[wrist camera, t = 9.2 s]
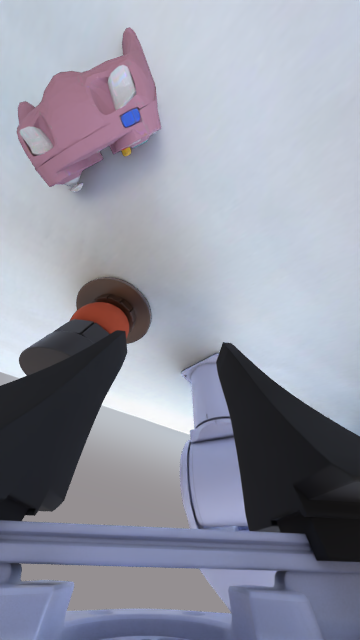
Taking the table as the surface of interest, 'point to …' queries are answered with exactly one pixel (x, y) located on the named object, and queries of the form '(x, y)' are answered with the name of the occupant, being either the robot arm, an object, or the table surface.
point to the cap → (61, 345)
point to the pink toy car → (90, 115)
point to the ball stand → (119, 303)
